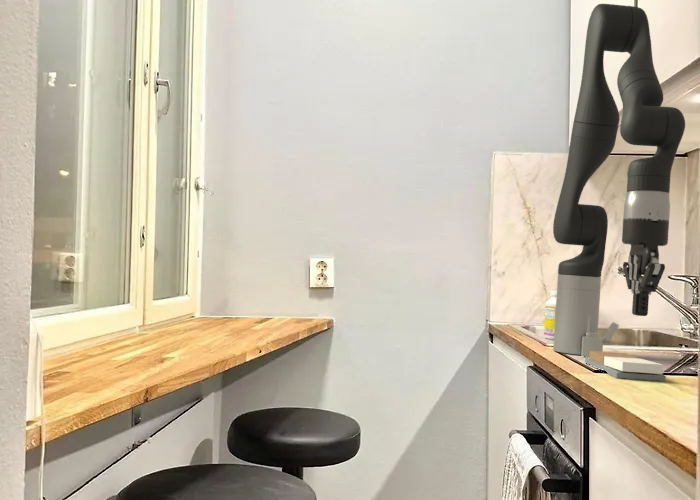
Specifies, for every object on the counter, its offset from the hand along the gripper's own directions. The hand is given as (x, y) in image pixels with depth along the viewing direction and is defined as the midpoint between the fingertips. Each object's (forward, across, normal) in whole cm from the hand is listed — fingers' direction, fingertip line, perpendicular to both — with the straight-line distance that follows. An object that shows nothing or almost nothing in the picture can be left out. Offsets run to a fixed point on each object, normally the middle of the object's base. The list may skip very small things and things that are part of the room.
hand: (639, 315), depth 122 cm
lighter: (+12, -25, +2) cm, 27 cm away
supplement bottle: (+12, -60, +3) cm, 61 cm away
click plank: (+10, -2, 0) cm, 10 cm away
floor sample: (+11, -6, 0) cm, 13 cm away
